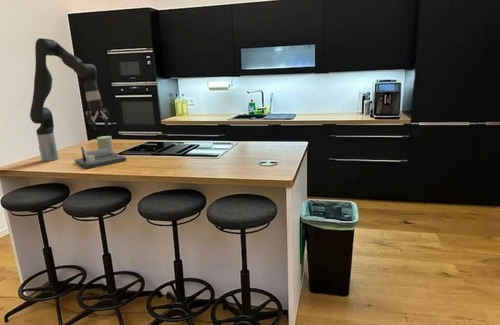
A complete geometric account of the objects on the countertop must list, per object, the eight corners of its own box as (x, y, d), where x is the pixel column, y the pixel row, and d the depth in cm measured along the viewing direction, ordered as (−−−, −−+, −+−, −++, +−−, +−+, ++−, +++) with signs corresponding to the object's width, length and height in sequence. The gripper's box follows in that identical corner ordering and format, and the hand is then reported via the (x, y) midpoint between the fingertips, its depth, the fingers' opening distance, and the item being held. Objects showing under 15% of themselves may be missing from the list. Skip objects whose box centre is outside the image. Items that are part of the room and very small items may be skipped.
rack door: (87, 159, 216) (86, 152, 215) (86, 158, 218) (85, 151, 217) (108, 155, 225) (107, 148, 223) (107, 154, 226) (106, 147, 225)
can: (107, 151, 244) (105, 134, 241) (116, 153, 239) (114, 135, 236) (96, 155, 236) (93, 137, 233) (105, 156, 232) (102, 138, 228)
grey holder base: (86, 169, 203) (83, 152, 201) (75, 162, 218) (72, 147, 215) (126, 160, 218) (124, 144, 216) (114, 155, 233) (111, 140, 230)
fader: (90, 163, 207) (89, 156, 206) (88, 162, 210) (86, 155, 209) (95, 162, 209) (94, 155, 208) (93, 161, 212) (92, 154, 210)
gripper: (99, 99, 210) (106, 125, 214) (78, 101, 198) (86, 130, 202) (108, 97, 207) (115, 124, 210) (87, 100, 195) (94, 129, 198)
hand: (100, 127), depth 206 cm, fingers open, 8 cm apart
